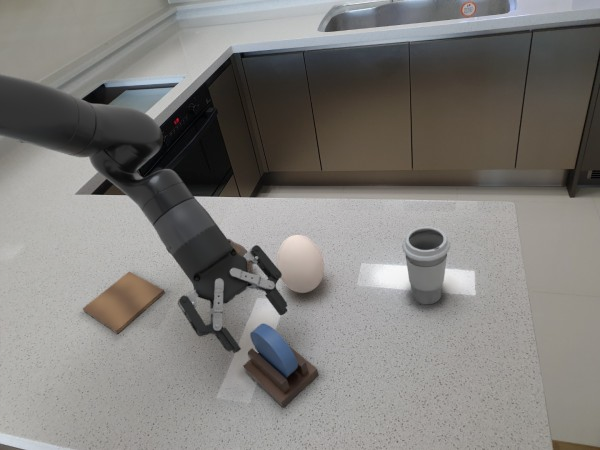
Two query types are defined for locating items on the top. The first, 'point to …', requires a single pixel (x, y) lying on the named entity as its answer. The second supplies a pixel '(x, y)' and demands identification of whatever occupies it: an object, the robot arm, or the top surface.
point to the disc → (274, 349)
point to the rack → (280, 377)
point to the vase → (241, 253)
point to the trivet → (123, 301)
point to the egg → (300, 264)
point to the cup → (426, 262)
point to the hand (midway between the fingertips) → (261, 331)
